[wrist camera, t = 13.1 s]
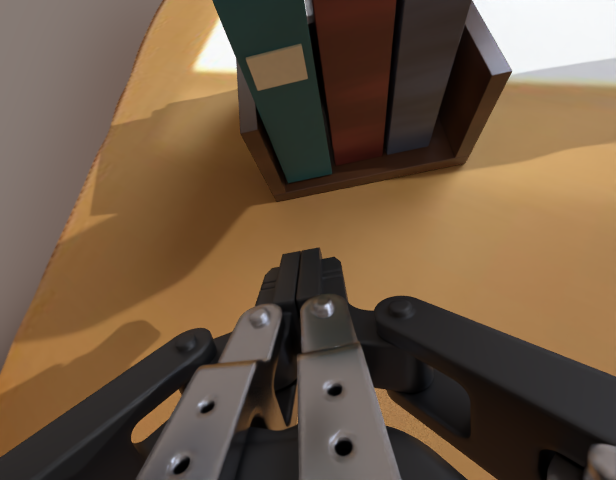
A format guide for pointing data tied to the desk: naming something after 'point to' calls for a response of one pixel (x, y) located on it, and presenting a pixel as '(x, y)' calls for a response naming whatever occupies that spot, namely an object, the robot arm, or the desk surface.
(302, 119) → the book
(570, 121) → the desk surface
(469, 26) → the book rack
